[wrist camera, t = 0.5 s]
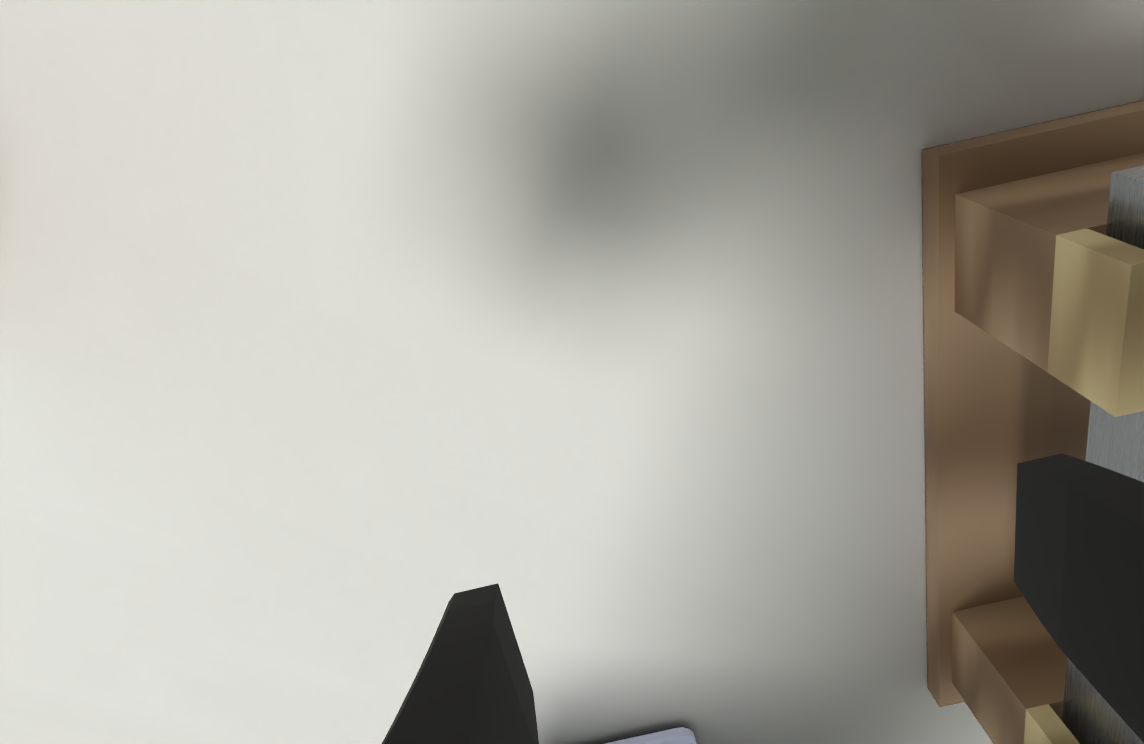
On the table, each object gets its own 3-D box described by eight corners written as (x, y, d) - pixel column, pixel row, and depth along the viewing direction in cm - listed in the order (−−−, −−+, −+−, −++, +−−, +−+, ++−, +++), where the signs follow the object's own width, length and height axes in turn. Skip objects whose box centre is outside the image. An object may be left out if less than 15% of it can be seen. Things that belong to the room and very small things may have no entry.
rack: (1103, 649, 27) (1276, 832, 21) (927, 688, 27) (1050, 881, 21) (1167, 94, 19) (1471, 134, 13) (921, 150, 19) (1114, 213, 13)
